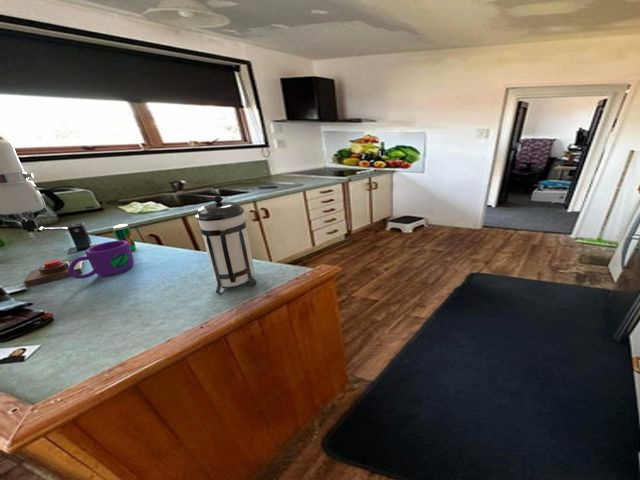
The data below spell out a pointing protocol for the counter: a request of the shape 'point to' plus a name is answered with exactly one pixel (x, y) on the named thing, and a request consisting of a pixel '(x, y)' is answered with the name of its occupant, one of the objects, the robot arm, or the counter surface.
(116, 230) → the soda can
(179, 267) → the counter surface
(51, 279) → the lamp base
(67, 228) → the lever
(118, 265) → the mug
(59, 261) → the lamp button
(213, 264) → the coffee press
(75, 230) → the switch bracket
